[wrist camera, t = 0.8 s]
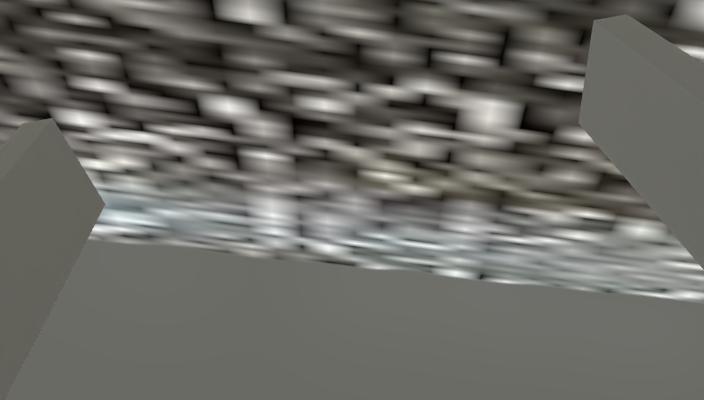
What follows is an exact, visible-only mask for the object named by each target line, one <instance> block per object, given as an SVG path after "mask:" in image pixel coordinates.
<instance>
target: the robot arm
mask: <svg viewBox="0 0 704 400" xmlns="http://www.w3.org/2000/svg"><path fill="white" fill-rule="evenodd" d="M579 124H580V125H581V126H582V128H583V129H584V130H585V131H586V132H587V133H588V135H589V136H590V137H591V138H592V139H593V140H594V142H595V143H596V144H597V145H598V146H599V148H600V149H601V150H602V151H603V152H604V153H605V155H606V156H607V157H608V158H609V159H610V160H611V162H612V163H613V164H614V165H615V166H616V167H617V169H618V170H619V171H620V172H621V173H622V174H623V176H624V177H625V178H626V179H627V180H628V181H629V183H630V184H631V185H632V186H633V187H634V189H635V190H636V191H637V192H638V193H639V194H640V196H641V197H642V198H643V199H644V200H645V201H646V203H647V204H648V205H649V206H650V207H651V208H652V210H653V211H654V212H655V213H656V214H657V215H658V217H659V218H660V219H661V220H662V221H663V222H664V224H665V225H666V226H667V227H668V228H669V229H670V231H671V232H672V233H673V234H674V235H675V237H676V238H677V239H678V240H679V241H680V242H681V244H682V245H683V246H684V247H685V248H686V249H687V251H688V252H689V253H690V254H691V255H692V256H693V258H694V259H695V260H696V261H697V262H698V263H699V265H700V266H701V267H702V268H703V269H704V64H702V63H701V62H699V61H698V60H696V59H694V58H693V57H691V56H690V55H688V54H687V53H685V52H684V51H682V50H681V49H679V48H678V47H676V46H675V45H673V44H671V43H670V42H668V41H667V40H665V39H664V38H662V37H661V36H659V35H658V34H656V33H655V32H653V31H652V30H650V29H648V28H647V27H645V26H644V25H642V24H641V23H639V22H638V21H636V20H635V19H633V18H632V17H630V16H629V15H627V14H626V15H621V16H615V17H610V18H604V19H599V20H594V21H593V28H592V35H591V42H590V48H589V55H588V62H587V69H586V75H585V82H584V89H583V96H582V102H581V109H580V116H579ZM104 206H105V203H104V201H103V200H102V198H101V196H100V195H99V193H98V192H97V190H96V188H95V187H94V185H93V183H92V182H91V180H90V179H89V177H88V175H87V174H86V172H85V170H84V169H83V167H82V166H81V164H80V162H79V161H78V159H77V157H76V156H75V154H74V153H73V151H72V149H71V148H70V146H69V144H68V143H67V141H66V140H65V138H64V136H63V135H62V133H61V131H60V130H59V128H58V126H57V125H56V123H55V122H54V120H53V118H51V119H46V120H40V121H34V122H29V123H23V124H22V125H21V126H20V127H19V128H18V129H17V130H16V131H15V133H14V134H13V135H12V136H11V137H10V138H9V139H8V140H7V141H6V142H5V144H4V145H3V146H2V147H1V148H0V400H5V399H6V397H7V395H8V393H9V392H10V389H11V387H12V386H13V384H14V382H15V380H16V378H17V376H18V374H19V372H20V370H21V368H22V366H23V364H24V362H25V360H26V358H27V356H28V354H29V352H30V350H31V348H32V346H33V345H34V342H35V340H36V339H37V337H38V335H39V333H40V331H41V329H42V327H43V325H44V323H45V321H46V319H47V317H48V315H49V313H50V311H51V309H52V307H53V305H54V303H55V301H56V300H57V298H58V295H59V294H60V291H61V290H62V288H63V286H64V284H65V282H66V280H67V278H68V276H69V274H70V272H71V270H72V268H73V266H74V264H75V262H76V260H77V258H78V256H79V254H80V253H81V250H82V249H83V246H84V245H85V243H86V241H87V239H88V237H89V235H90V233H91V231H92V229H93V227H94V225H95V223H96V221H97V219H98V217H99V215H100V213H101V211H102V210H103V208H104Z"/></svg>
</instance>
